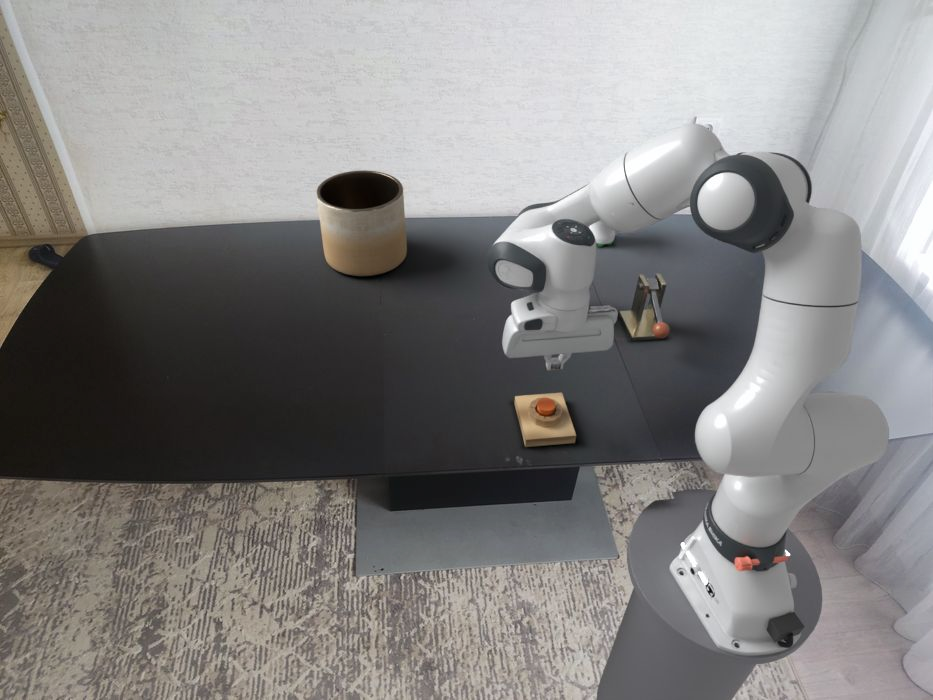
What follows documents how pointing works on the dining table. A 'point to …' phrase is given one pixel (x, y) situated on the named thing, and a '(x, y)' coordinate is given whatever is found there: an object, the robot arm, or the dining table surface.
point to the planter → (362, 222)
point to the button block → (544, 421)
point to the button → (545, 407)
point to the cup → (602, 233)
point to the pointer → (657, 310)
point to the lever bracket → (642, 311)
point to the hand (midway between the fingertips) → (554, 367)
